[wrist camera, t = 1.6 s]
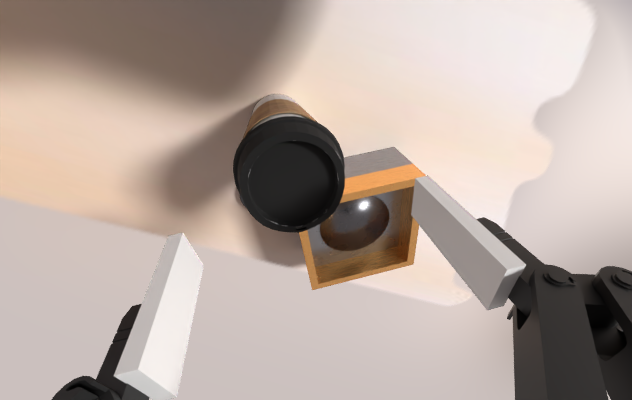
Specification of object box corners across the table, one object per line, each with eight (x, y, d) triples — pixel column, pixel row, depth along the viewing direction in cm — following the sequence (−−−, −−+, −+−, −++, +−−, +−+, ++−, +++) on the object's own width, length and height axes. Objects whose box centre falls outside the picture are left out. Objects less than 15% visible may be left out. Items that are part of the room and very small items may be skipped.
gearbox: (285, 170, 33) (292, 206, 27) (394, 147, 35) (426, 175, 28) (303, 249, 42) (312, 290, 36) (389, 228, 43) (413, 264, 37)
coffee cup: (249, 159, 31) (247, 245, 19) (231, 86, 27) (212, 140, 15) (316, 148, 32) (353, 224, 20) (310, 76, 28) (354, 119, 15)
